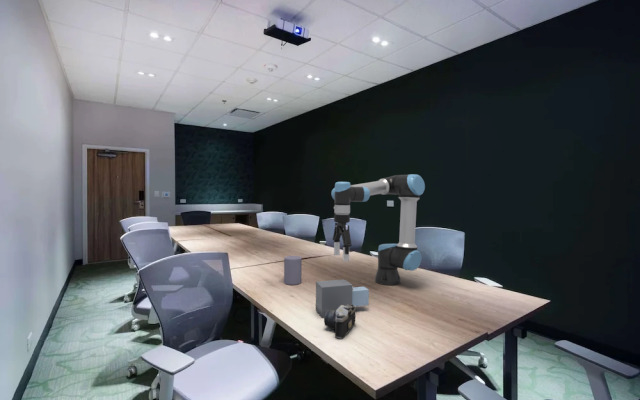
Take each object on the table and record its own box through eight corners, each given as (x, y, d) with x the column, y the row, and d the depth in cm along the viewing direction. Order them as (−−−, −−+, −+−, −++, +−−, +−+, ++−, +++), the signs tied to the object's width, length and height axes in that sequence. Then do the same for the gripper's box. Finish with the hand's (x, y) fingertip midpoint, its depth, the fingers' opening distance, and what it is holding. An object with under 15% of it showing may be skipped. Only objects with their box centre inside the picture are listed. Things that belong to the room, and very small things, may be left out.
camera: (334, 319, 129) (334, 296, 128) (357, 324, 124) (358, 300, 124) (318, 335, 114) (318, 308, 114) (344, 341, 110) (344, 313, 110)
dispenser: (345, 307, 142) (345, 279, 142) (353, 314, 134) (353, 284, 134) (315, 310, 138) (316, 281, 138) (321, 318, 129) (322, 287, 129)
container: (304, 283, 179) (304, 258, 179) (289, 286, 173) (289, 260, 173) (295, 279, 187) (296, 255, 187) (280, 281, 182) (281, 257, 181)
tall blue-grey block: (363, 301, 143) (363, 286, 143) (368, 304, 138) (368, 289, 138) (327, 304, 138) (327, 289, 137) (331, 309, 133) (331, 293, 133)
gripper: (327, 212, 157) (326, 253, 157) (343, 215, 133) (342, 264, 133) (340, 212, 159) (340, 252, 159) (359, 215, 135) (358, 263, 135)
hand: (341, 258), depth 146 cm, fingers open, 13 cm apart
